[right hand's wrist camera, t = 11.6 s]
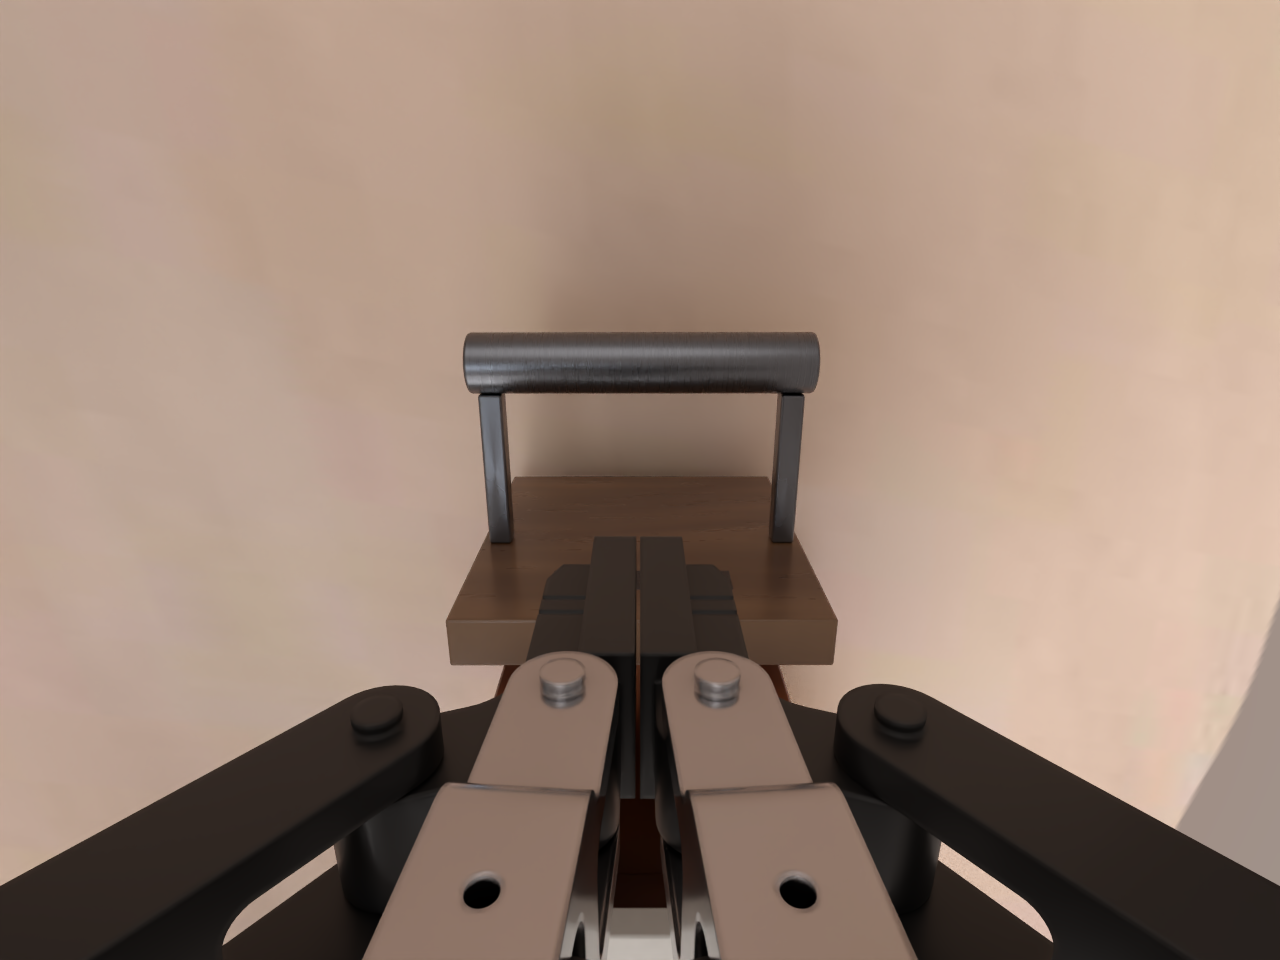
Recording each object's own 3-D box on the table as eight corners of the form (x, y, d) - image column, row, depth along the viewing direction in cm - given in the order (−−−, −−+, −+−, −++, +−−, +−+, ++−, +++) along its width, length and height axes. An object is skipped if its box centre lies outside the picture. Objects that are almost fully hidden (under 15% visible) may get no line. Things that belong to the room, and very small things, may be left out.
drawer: (503, 308, 23) (417, 366, 14) (778, 307, 23) (866, 366, 14) (539, 864, 31) (500, 1123, 22) (742, 864, 31) (783, 1123, 22)
